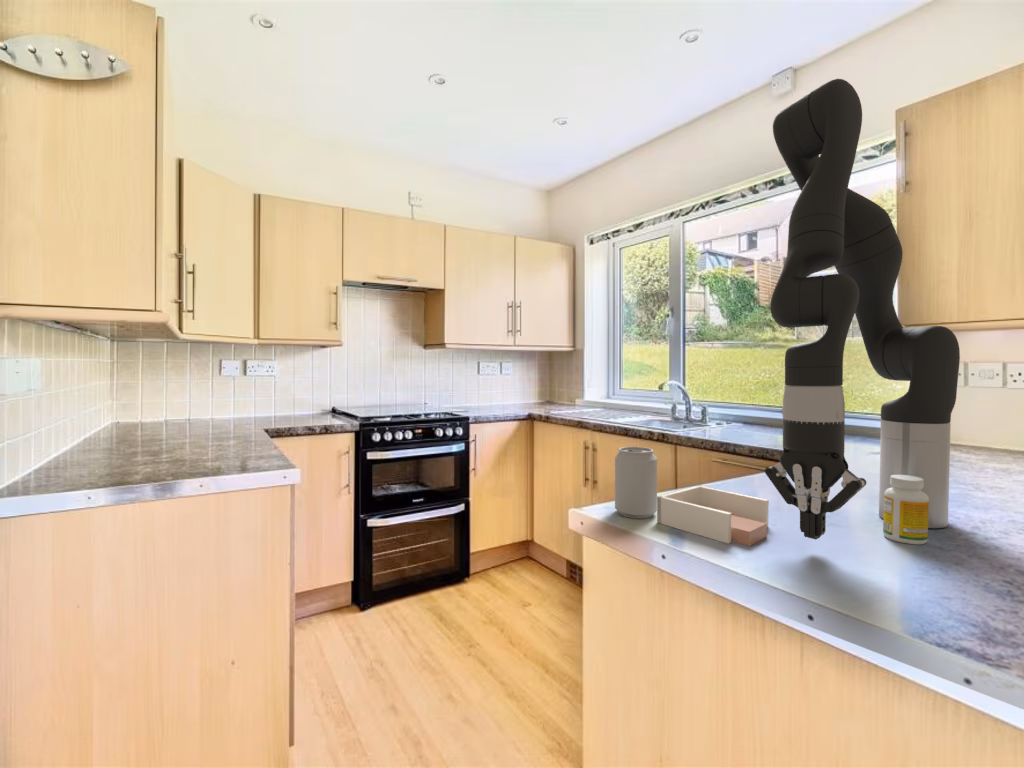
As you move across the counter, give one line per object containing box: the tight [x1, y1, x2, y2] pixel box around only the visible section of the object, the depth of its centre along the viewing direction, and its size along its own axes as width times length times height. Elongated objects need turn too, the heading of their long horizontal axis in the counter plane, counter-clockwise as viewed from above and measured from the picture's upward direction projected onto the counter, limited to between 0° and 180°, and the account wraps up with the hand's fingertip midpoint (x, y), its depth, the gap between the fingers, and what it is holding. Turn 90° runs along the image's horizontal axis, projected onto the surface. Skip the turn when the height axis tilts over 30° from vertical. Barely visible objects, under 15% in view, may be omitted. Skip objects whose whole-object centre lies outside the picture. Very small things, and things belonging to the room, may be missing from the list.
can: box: [614, 446, 658, 519], centre depth 89 cm, size 8×8×12 cm
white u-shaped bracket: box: [656, 484, 770, 545], centre depth 82 cm, size 13×13×4 cm
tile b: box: [731, 515, 768, 547], centre depth 77 cm, size 6×6×2 cm
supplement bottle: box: [882, 475, 929, 545], centre depth 75 cm, size 5×5×10 cm
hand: (812, 536), depth 70 cm, fingers closed
